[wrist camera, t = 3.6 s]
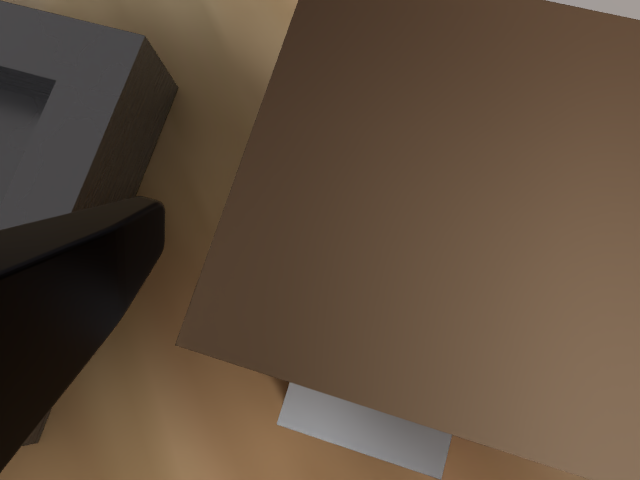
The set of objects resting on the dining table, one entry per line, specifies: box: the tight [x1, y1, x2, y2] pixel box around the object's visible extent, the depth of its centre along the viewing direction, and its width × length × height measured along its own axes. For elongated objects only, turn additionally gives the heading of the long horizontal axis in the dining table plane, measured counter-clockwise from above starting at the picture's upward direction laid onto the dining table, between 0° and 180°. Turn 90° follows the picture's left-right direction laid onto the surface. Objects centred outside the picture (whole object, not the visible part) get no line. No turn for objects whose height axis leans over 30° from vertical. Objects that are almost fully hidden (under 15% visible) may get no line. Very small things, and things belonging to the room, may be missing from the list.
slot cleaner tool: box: [175, 0, 640, 480], centre depth 10 cm, size 6×4×14 cm, turn 163°
